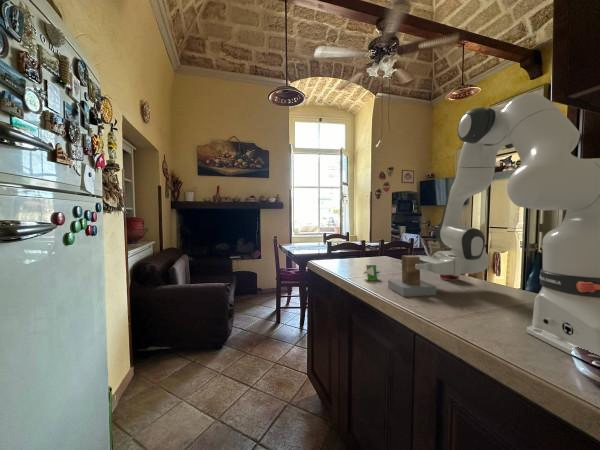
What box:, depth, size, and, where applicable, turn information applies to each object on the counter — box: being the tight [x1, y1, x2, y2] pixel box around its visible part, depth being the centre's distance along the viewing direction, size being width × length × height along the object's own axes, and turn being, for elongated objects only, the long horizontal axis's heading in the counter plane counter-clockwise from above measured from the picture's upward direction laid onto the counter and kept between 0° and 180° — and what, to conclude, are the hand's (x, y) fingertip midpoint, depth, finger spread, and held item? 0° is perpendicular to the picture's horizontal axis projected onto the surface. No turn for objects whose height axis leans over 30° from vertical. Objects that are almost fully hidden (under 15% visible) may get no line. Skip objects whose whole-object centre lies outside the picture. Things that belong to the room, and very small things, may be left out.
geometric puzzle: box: [362, 264, 381, 281], centre depth 114 cm, size 7×7×8 cm
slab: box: [387, 278, 437, 297], centre depth 94 cm, size 12×12×3 cm
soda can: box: [439, 275, 460, 282], centre depth 111 cm, size 7×7×12 cm
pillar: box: [401, 254, 421, 285], centre depth 94 cm, size 4×4×10 cm
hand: (408, 264), depth 94 cm, fingers open, 8 cm apart
